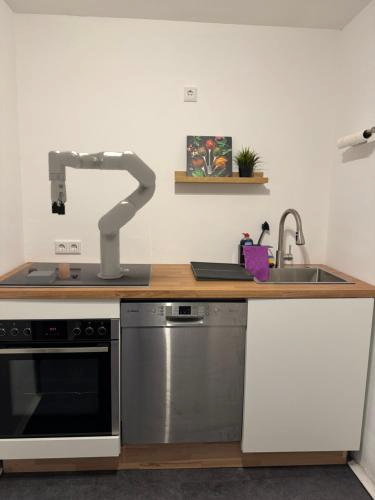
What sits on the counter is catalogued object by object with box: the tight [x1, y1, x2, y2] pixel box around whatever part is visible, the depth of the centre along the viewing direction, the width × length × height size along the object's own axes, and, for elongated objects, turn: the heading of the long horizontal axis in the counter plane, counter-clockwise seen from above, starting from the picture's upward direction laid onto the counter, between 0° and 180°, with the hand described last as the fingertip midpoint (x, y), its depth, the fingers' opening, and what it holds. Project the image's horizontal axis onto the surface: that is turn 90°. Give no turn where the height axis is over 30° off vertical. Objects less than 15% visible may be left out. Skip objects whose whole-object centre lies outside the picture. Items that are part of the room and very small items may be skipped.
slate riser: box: [26, 270, 56, 285], centre depth 165 cm, size 10×10×4 cm
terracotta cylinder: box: [58, 262, 71, 280], centre depth 172 cm, size 5×5×7 cm
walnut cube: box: [27, 267, 38, 275], centre depth 174 cm, size 4×4×4 cm
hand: (58, 214), depth 169 cm, fingers open, 9 cm apart
